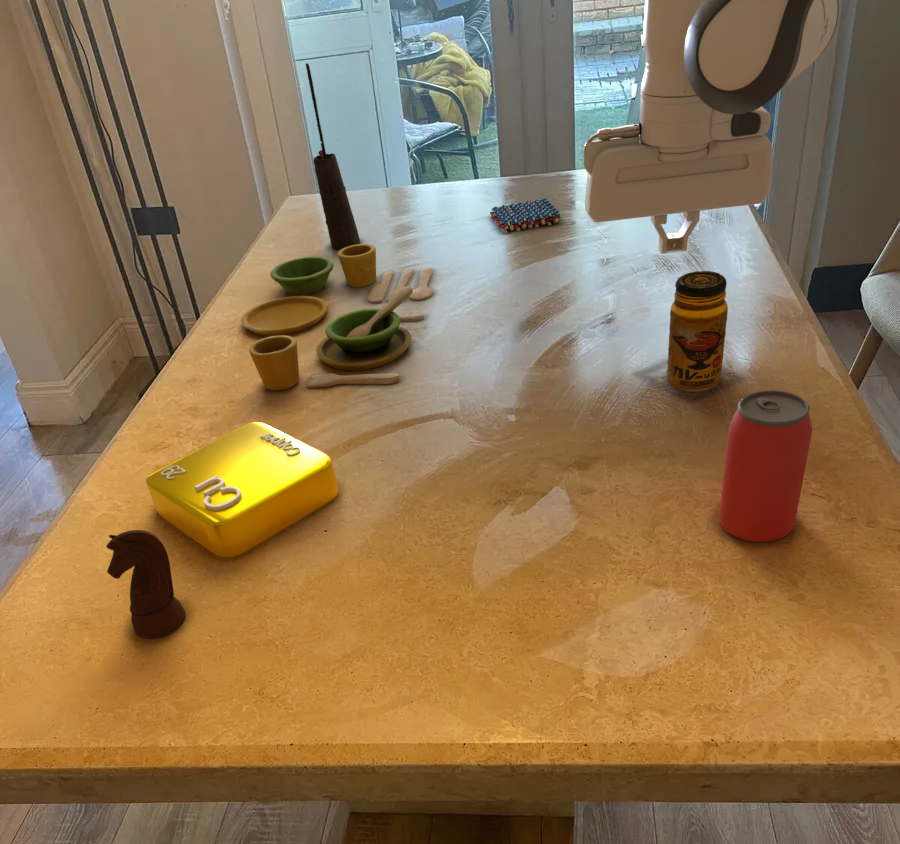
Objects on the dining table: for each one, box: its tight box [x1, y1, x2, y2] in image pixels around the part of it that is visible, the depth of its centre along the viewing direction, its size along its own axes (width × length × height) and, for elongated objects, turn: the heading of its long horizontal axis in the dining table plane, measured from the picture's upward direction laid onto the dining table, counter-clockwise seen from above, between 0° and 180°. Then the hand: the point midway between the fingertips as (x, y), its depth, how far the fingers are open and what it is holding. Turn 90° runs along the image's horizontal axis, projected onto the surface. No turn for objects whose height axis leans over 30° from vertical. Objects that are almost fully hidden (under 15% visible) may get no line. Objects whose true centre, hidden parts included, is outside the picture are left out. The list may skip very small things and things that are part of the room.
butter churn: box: [305, 62, 361, 251], centre depth 141 cm, size 9×10×28 cm
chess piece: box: [106, 529, 187, 640], centre depth 73 cm, size 5×5×10 cm
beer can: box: [718, 389, 813, 543], centre depth 73 cm, size 7×7×12 cm
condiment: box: [666, 270, 729, 393], centre depth 95 cm, size 7×8×12 cm
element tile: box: [145, 421, 339, 559], centre depth 88 cm, size 15×15×5 cm
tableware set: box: [240, 243, 434, 391], centre depth 120 cm, size 41×28×6 cm
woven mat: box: [489, 197, 561, 234], centre depth 147 cm, size 10×11×2 cm
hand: (672, 251), depth 99 cm, fingers closed
